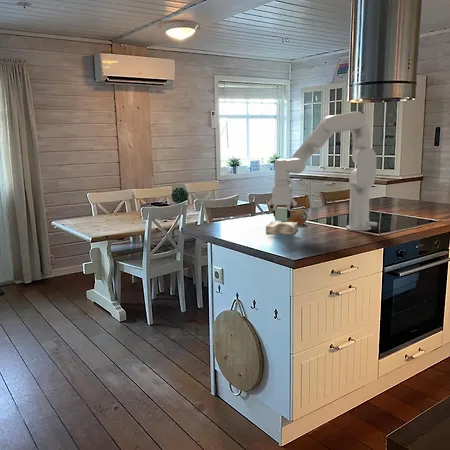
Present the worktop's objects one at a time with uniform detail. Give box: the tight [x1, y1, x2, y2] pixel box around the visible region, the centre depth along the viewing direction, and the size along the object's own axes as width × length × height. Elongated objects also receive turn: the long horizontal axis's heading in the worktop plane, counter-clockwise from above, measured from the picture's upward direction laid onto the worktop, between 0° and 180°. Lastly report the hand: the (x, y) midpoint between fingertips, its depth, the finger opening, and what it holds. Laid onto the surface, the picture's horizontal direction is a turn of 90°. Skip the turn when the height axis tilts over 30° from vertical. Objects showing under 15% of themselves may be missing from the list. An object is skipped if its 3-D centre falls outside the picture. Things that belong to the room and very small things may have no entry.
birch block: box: [265, 221, 299, 235], centre depth 244 cm, size 14×14×4 cm
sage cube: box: [274, 206, 289, 222], centre depth 243 cm, size 6×6×6 cm
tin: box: [280, 209, 308, 226], centre depth 260 cm, size 15×3×8 cm, turn 105°
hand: (281, 217), depth 243 cm, fingers closed on sage cube, 6 cm apart
